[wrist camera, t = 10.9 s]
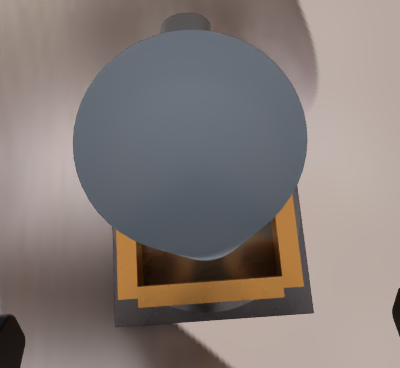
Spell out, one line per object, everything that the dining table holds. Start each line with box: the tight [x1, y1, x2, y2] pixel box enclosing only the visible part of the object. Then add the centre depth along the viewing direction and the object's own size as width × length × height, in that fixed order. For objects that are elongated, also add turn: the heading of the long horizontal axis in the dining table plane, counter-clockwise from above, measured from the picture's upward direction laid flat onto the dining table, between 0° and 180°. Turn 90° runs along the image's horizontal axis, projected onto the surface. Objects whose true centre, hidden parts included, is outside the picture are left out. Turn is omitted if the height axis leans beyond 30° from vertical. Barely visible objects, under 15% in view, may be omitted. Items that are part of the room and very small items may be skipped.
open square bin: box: [112, 186, 314, 327], centre depth 20 cm, size 11×11×6 cm
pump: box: [73, 13, 307, 261], centre depth 13 cm, size 6×4×12 cm
